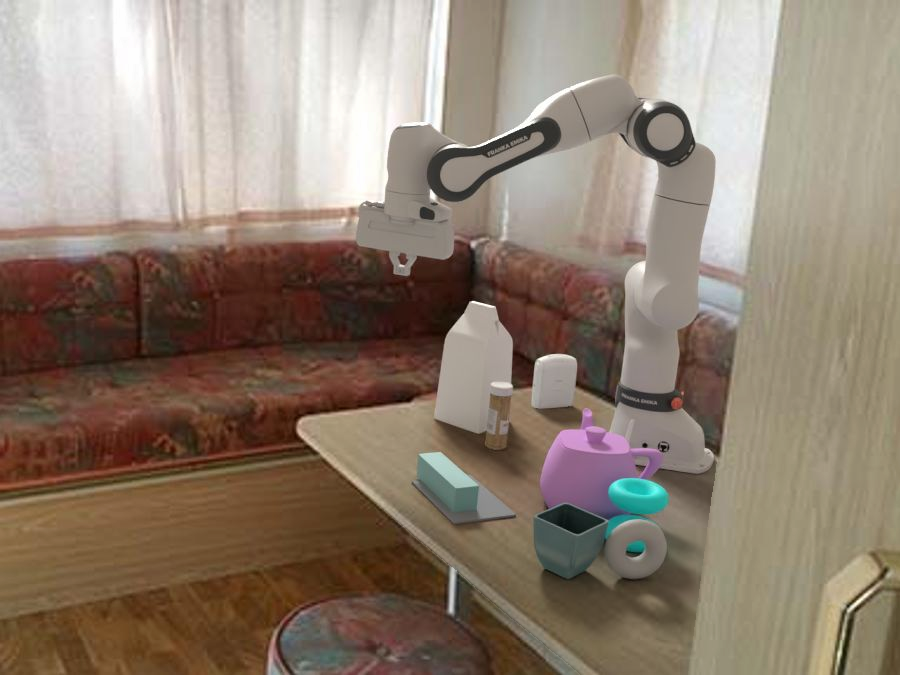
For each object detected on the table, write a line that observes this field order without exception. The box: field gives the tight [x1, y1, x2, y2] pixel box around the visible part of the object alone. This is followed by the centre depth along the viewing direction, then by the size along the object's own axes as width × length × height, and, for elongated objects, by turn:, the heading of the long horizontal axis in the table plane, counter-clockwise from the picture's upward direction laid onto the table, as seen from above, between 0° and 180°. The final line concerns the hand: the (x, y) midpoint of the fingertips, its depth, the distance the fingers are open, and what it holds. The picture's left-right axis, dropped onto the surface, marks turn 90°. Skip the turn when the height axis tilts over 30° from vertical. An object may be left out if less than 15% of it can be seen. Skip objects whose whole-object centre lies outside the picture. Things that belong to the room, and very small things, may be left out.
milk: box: [433, 300, 514, 435], centre depth 228 cm, size 12×12×26 cm
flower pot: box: [533, 503, 609, 580], centre depth 167 cm, size 9×9×9 cm
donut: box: [603, 519, 668, 580], centre depth 166 cm, size 10×3×10 cm, turn 98°
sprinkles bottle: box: [484, 381, 514, 451], centre depth 216 cm, size 5×5×13 cm
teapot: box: [539, 407, 663, 520], centre depth 193 cm, size 23×21×15 cm
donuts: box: [604, 478, 670, 553], centre depth 179 cm, size 10×10×10 cm
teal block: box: [416, 451, 479, 512], centre depth 192 cm, size 4×4×16 cm
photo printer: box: [530, 353, 578, 410], centre depth 244 cm, size 10×4×12 cm, turn 114°
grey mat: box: [411, 474, 517, 525], centre depth 191 cm, size 18×12×1 cm, turn 25°
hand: (401, 274), depth 213 cm, fingers closed
